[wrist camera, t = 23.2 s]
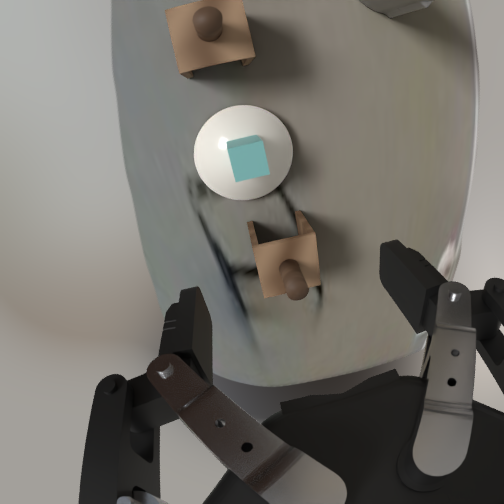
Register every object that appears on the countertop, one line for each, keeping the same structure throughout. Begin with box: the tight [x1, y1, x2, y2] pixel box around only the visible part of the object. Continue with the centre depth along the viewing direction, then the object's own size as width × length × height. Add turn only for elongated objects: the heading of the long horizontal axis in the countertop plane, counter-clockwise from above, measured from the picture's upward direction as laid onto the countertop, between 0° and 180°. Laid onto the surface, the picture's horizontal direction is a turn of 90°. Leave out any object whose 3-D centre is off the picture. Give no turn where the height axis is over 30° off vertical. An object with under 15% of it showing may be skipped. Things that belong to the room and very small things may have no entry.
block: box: [226, 135, 270, 182], centre depth 35 cm, size 4×4×6 cm
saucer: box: [194, 105, 293, 200], centre depth 38 cm, size 13×13×1 cm
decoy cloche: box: [247, 210, 321, 300], centre depth 40 cm, size 8×8×13 cm
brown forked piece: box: [165, 0, 256, 78], centre depth 25 cm, size 8×8×13 cm
